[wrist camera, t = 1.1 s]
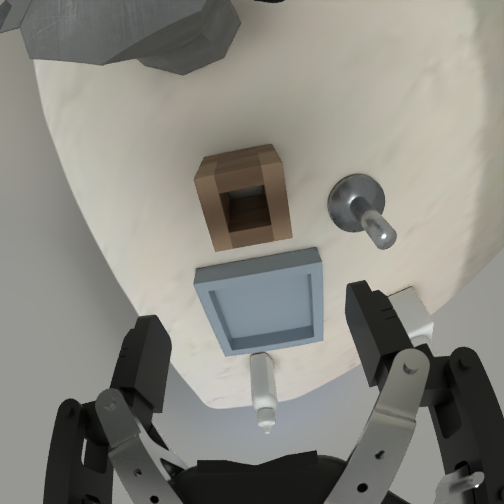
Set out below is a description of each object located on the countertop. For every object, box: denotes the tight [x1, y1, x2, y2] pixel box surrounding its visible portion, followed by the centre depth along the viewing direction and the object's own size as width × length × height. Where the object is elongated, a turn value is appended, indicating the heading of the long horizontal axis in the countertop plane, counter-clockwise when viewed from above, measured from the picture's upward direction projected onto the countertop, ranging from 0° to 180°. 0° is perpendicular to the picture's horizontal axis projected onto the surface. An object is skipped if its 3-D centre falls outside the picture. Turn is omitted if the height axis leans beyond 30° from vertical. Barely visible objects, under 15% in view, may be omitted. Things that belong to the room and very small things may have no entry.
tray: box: [193, 247, 323, 357], centre depth 32 cm, size 13×13×3 cm
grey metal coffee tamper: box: [328, 174, 397, 250], centre depth 23 cm, size 6×6×7 cm
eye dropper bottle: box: [250, 353, 278, 434], centre depth 35 cm, size 4×6×12 cm
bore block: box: [194, 144, 293, 252], centre depth 22 cm, size 6×6×6 cm
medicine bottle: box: [388, 287, 439, 357], centre depth 31 cm, size 7×7×12 cm
